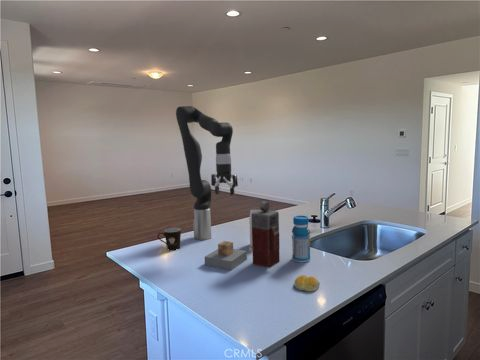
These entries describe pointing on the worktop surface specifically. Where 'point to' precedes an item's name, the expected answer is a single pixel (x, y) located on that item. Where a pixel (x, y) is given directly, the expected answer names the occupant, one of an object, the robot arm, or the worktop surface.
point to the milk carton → (251, 225)
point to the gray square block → (226, 259)
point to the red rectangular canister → (265, 236)
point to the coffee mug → (172, 238)
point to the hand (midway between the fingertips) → (224, 194)
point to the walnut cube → (225, 248)
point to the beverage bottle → (301, 239)
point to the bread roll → (306, 283)
